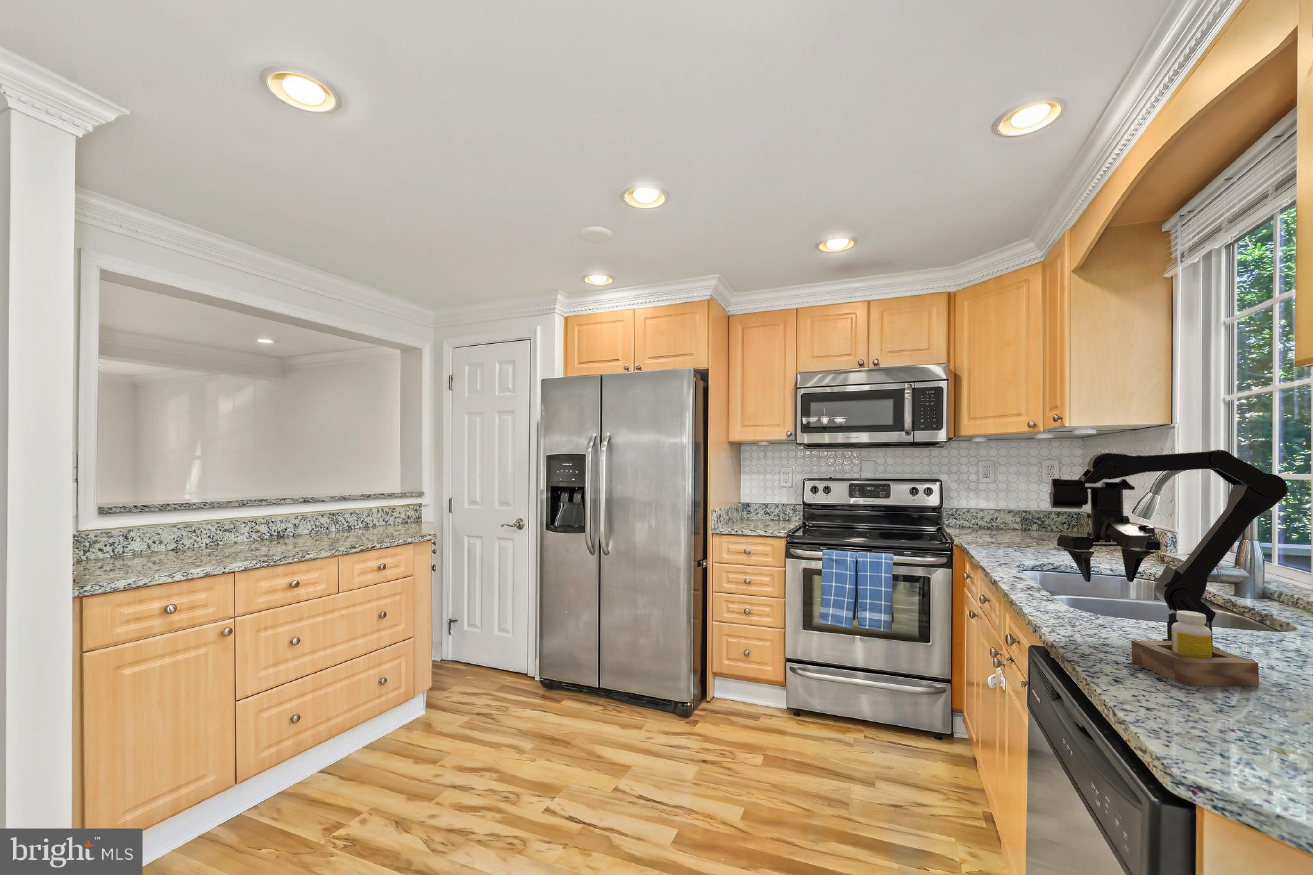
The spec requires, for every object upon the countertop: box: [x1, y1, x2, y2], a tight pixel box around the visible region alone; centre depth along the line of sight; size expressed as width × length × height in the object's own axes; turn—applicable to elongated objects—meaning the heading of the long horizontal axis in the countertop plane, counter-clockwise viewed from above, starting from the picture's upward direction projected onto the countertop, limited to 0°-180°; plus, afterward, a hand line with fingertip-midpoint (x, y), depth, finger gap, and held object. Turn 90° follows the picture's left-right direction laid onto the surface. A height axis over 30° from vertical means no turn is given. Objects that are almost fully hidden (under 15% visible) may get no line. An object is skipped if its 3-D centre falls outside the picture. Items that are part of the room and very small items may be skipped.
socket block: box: [1130, 640, 1260, 688], centre depth 106 cm, size 12×12×4 cm
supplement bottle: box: [1172, 611, 1213, 658], centre depth 106 cm, size 5×5×10 cm
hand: (1108, 581), depth 128 cm, fingers open, 9 cm apart
